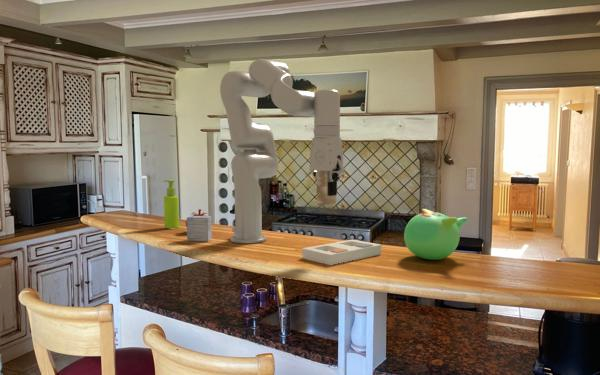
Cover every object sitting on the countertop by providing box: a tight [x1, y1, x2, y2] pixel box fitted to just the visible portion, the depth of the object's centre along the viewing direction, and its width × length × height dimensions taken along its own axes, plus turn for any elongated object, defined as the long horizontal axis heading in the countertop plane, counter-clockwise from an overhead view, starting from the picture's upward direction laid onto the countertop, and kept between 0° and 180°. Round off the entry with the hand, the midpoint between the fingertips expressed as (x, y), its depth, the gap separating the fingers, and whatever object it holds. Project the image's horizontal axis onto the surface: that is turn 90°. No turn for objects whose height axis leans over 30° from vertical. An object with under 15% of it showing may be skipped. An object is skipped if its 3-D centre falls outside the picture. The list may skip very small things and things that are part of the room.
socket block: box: [301, 239, 382, 266], centre depth 146 cm, size 12×22×3 cm, turn 131°
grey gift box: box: [186, 215, 213, 242], centre depth 172 cm, size 8×4×9 cm, turn 84°
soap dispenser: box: [163, 179, 180, 229], centre depth 199 cm, size 6×7×20 cm
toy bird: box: [403, 208, 469, 261], centre depth 142 cm, size 18×17×15 cm
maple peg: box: [316, 169, 337, 207], centre depth 142 cm, size 4×4×11 cm
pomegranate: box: [184, 208, 212, 228], centre depth 188 cm, size 10×10×9 cm
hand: (326, 194), depth 142 cm, fingers closed on maple peg, 4 cm apart
